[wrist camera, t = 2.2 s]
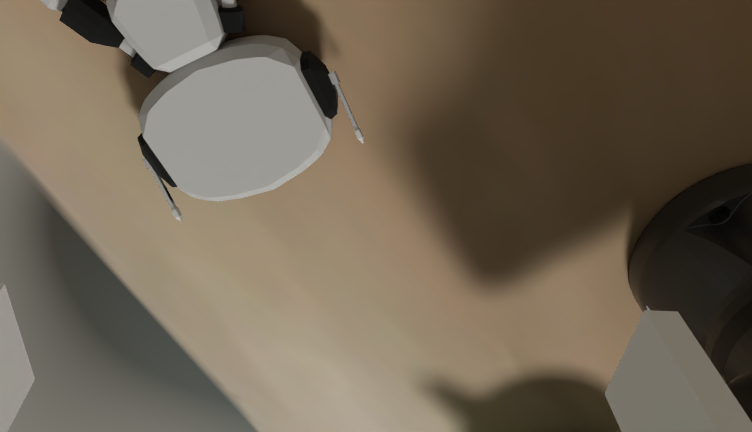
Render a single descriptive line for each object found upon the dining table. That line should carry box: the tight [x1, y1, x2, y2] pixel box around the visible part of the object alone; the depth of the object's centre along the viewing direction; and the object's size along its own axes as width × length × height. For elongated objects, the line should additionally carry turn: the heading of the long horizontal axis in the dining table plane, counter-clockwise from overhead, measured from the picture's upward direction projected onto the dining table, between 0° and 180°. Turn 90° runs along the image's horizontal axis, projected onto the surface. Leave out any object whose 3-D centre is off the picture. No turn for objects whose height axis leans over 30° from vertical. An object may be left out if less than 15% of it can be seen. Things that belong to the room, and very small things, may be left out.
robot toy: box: [41, 0, 363, 222], centre depth 33 cm, size 12×4×15 cm
